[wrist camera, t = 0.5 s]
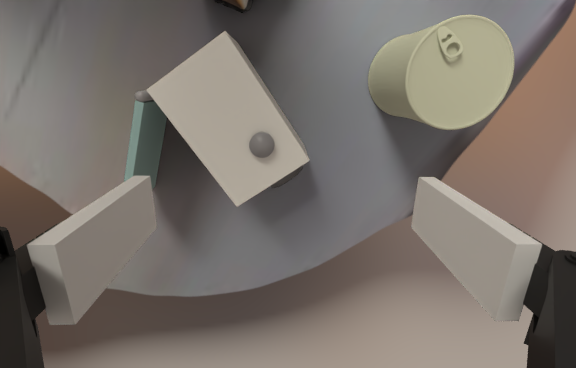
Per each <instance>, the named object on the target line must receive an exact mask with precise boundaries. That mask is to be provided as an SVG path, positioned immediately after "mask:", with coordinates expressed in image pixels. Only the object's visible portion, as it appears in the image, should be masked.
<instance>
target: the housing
mask: <svg viewBox="0 0 576 368" xmlns="http://www.w3.org/2000/svg"><path fill="white" fill-rule="evenodd" d="M146 91H147V92H148V93H149V94H150V96H151V97H152V98H153V100H154V101H155V102H156V103H157V105H158V106H159V107H160V109H161V110H162V111H163V112H164V114H165V115H166V116H167V118H168V119H169V120H170V121H171V123H172V124H173V125H174V127H175V128H176V129H177V130H178V132H179V133H180V134H181V136H182V137H183V138H184V139H185V141H186V142H187V143H188V145H189V146H190V147H191V148H192V150H193V151H194V152H195V154H196V155H197V156H198V158H199V159H200V160H201V161H202V163H203V164H204V165H205V167H206V168H207V169H208V170H209V172H210V173H211V174H212V176H213V177H214V178H215V179H216V181H217V182H218V183H219V185H220V186H221V187H222V188H223V190H224V191H225V192H226V194H227V195H228V196H229V197H230V199H231V200H232V201H233V203H234V204H235V205H236V206H237V207H238V206H239V205H241V204H242V203H244V202H246V201H247V200H249V199H250V198H252V197H253V196H255V195H257V194H258V193H260V192H261V191H263V190H264V189H266V188H267V187H269V186H271V187H272V188H276V187H279V186H281V185H283V184H285V183H286V182H288V181H289V180H291V179H292V178H294V177H295V176H296V175H297V174H298V173H299V172H300V171H301V170H302V168H303V165H304V164H305V163H307V162H308V161H310V160H309V157H308V154H307V152H306V149H305V146H304V144H303V142H302V141H301V139H300V138H299V136H298V135H297V133H296V132H295V130H294V128H293V127H292V125H291V124H290V122H289V121H288V119H287V118H286V116H285V115H284V113H283V112H282V110H281V108H280V107H279V105H278V104H277V102H276V101H275V99H274V98H273V96H272V95H271V93H270V92H269V90H268V88H267V87H266V85H265V84H264V82H263V81H262V79H261V78H260V76H259V75H258V73H257V71H256V70H255V68H254V67H253V65H252V64H251V62H250V61H249V59H248V58H247V56H246V55H245V53H244V51H243V50H242V48H241V47H240V45H239V44H238V42H237V41H236V40H234V39H233V38H232V37H231V36H230V35H229V34H228V33H227V32H226V31H224V32H223V33H221V34H220V35H219V36H217V37H216V38H215V39H213V40H212V41H211V42H209V43H208V44H207V45H205V46H204V47H203V48H201V49H200V50H199V51H197V52H196V53H195V54H193V55H192V56H191V57H189V58H188V59H187V60H185V61H184V62H183V63H181V64H180V65H179V66H177V67H176V68H175V69H173V70H172V71H171V72H169V73H168V74H167V75H165V76H164V77H163V78H161V79H160V80H159V81H157V82H156V83H155V84H153V85H152V86H151V87H149V88H148V89H147V90H146Z"/></svg>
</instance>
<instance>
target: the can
mask: <svg viewBox="0 0 576 368" xmlns="http://www.w3.org/2000/svg"><path fill="white" fill-rule="evenodd" d="M513 72H514V53H513V49H512V45H511V43H510V40H509V38H508V36H507V35H506V33H505V32H504V31H503V29H502V28H501V27H500V26H499V25H497V24H496V23H495V22H493V21H491V20H490V19H487V18H485V17H482V16H477V15H461V16H456V17H452V18H450V19H447V20H445V21H443V22H441V23H439V24H437V25H434V26H432V27H429V28H427V29H424V30H421V31H418V32H415V33H413V34H408V35H402V36H399V37H397V38H394V39H392V40H391V41H389V42H388V43H386V44H385V45H384V46H383V47H382V48H381V49H380V50H379V51H378V53H377V54H376V56H375V57H374V59H373V61H372V64H371V66H370V70H369V75H368V86H369V91H370V94H371V97H372V99H373V101H374V102H375V104H376V105H377V106H378V107H379V108H380V109H381V110H382V111H384V112H386V113H387V114H390V115H393V116H397V117H405V118H409V119H412V120H416V121H419V122H422V123H425V124H428V125H429V126H432V127H434V128H438V129H442V130H458V129H463V128H466V127H469V126H472V125H474V124H476V123H478V122H480V121H481V120H483V119H484V118H486V117H487V116H488V115H489V114H490V113H492V112H493V111H494V110H495V109H496V107H497V106H498V105H499V104H500V102H501V101H502V100H503V98H504V96H505V95H506V93H507V91H508V89H509V86H510V83H511V80H512V77H513Z"/></svg>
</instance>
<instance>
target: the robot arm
mask: <svg viewBox="0 0 576 368" xmlns="http://www.w3.org/2000/svg"><path fill="white" fill-rule="evenodd" d="M156 228H157V222H156V215H155V208H154V200H153V193H152V185H151V178H150V176H133V177H131V178H130V179H128V180H126V181H125V182H123V183H122V184H120V185H119V186H117V187H116V188H114V189H113V190H111V191H109V192H108V193H106V194H105V195H103V196H102V197H100V198H99V199H97V200H96V201H94V202H92V203H91V204H89V205H88V206H86V207H85V208H83V209H82V210H80V211H78V212H77V213H75V214H74V215H72V216H71V217H69V218H68V219H66V220H65V221H63V222H61V223H58V224H56V225H54V226H53V227H51V228H50V229H48V230H47V231H45V233H42V234H40V235H39V236H37V237H36V239H32V240H31V241H29V242H28V243H26V244H25V245H23V246H22V247H20V248H18V249H17V250H15V251H14V248H13V245H12V241H11V238H10V235H9V232H8V230H7V229H6V228H5V227H0V368H44V363H43V357H42V352H41V351H42V350H41V344H40V338H39V331H38V327H37V324H36V320H35V318H36V317H37V316H38V315H39V314H40V313H41V312H42V311H43V310H44V309H45V310H46V314H47V317H48V321H49V324H50V325H75V324H76V323H77V322H78V321H79V319H80V318H81V317H82V316H83V315H84V313H85V312H86V311H87V310H88V309H89V307H90V306H91V305H92V304H93V303H94V301H95V300H96V299H97V298H98V297H99V296H100V294H101V293H102V292H103V291H104V290H105V289H106V287H107V286H108V285H109V284H110V283H111V281H112V280H113V279H114V278H115V277H116V276H117V274H118V273H119V272H120V271H121V270H122V268H123V267H124V266H125V265H126V264H127V262H128V261H129V260H130V259H131V258H132V257H133V255H134V254H135V253H136V252H137V251H138V249H139V248H140V247H141V246H142V245H143V243H144V242H145V241H146V240H147V239H148V238H149V236H150V235H151V234H152V233H153V232H154V230H155V229H156ZM411 228H412V229H413V230H414V231H415V232H416V233H417V235H418V236H419V237H420V238H421V239H422V240H423V241H424V242H425V243H426V245H427V246H428V247H429V248H430V249H431V250H432V251H433V252H434V254H435V255H436V256H437V257H438V258H439V259H440V260H441V261H442V262H443V264H444V265H445V266H446V267H447V268H448V269H449V270H450V271H451V272H452V274H453V275H455V277H456V278H457V279H458V280H459V281H460V282H461V284H462V285H463V286H464V287H465V288H466V289H467V290H468V291H469V292H470V294H471V295H472V296H473V297H474V298H475V299H476V300H477V302H478V303H479V304H480V305H481V306H482V307H483V308H484V309H485V311H486V312H487V313H488V314H489V315H490V316H491V317H492V318H493V319H494V321H519V318H520V315H521V312H522V309H523V305H525V306H526V307H527V308H528V309H530V310H531V311H532V312H533V317H532V320H531V323H530V326H529V329H528V332H527V335H526V338H525V341H524V344H527V345H528V358H527V368H576V252H573V251H565V250H559V251H554V250H553V249H551V248H549V247H548V246H546V245H544V244H543V243H541V242H540V241H538V240H536V239H535V238H533V237H531V236H530V235H528V234H527V233H525V232H522V231H521V230H520V229H518V228H517V227H515V226H514V225H512V224H510V223H507V222H506V221H504V220H502V219H501V218H499V217H497V216H496V215H494V214H493V213H491V212H489V211H488V210H486V209H485V208H483V207H481V206H480V205H478V204H477V203H475V202H473V201H472V200H470V199H469V198H467V197H465V196H464V195H462V194H460V193H459V192H457V191H456V190H454V189H453V188H451V187H449V186H448V185H446V184H444V183H443V182H441V181H440V180H438V179H436V178H435V177H419V179H418V185H417V192H416V198H415V205H414V211H413V218H412V225H411Z"/></svg>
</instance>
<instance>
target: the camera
mask: <svg viewBox="0 0 576 368" xmlns="http://www.w3.org/2000/svg"><path fill="white" fill-rule="evenodd" d="M214 1H215V2H217V3H222V4H223V5H225V6H227V7H230V8H233V9H235V10H237V11H239V12H241V13H243V12H245V11H248V10H250V8H251V5H252V2H253V0H214Z"/></svg>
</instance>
